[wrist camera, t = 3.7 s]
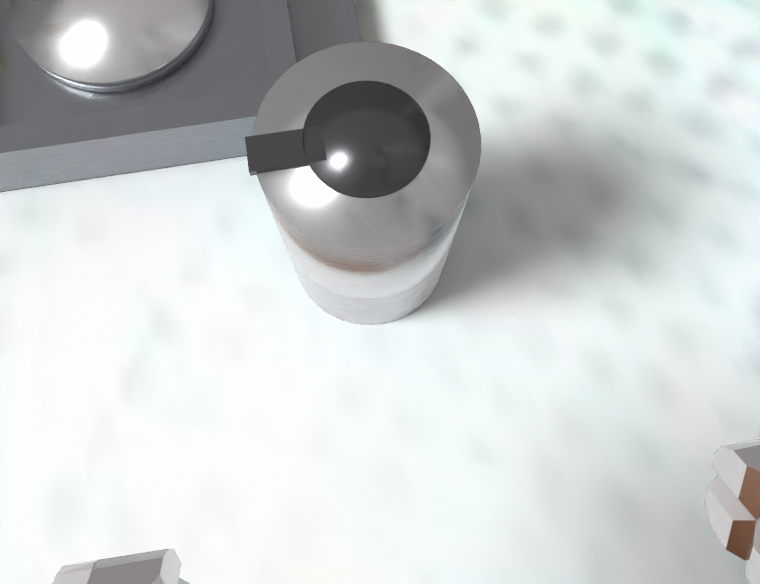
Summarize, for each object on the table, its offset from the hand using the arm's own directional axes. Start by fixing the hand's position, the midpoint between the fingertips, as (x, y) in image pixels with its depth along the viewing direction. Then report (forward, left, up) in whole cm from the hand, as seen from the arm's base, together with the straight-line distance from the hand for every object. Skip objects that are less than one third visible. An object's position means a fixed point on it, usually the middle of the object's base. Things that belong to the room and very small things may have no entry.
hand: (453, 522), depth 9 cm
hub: (0, -8, -11) cm, 14 cm away
